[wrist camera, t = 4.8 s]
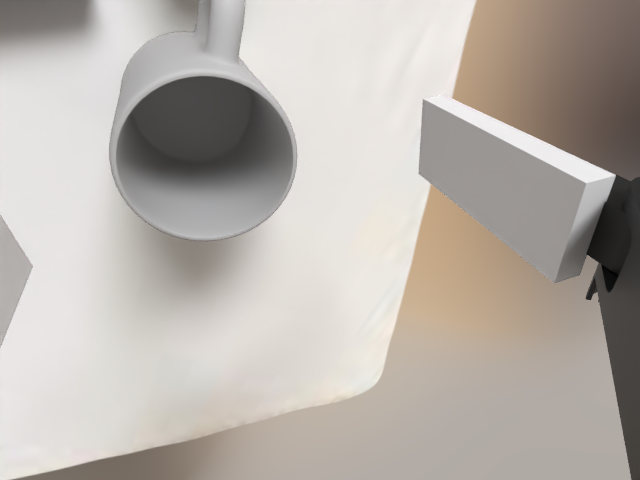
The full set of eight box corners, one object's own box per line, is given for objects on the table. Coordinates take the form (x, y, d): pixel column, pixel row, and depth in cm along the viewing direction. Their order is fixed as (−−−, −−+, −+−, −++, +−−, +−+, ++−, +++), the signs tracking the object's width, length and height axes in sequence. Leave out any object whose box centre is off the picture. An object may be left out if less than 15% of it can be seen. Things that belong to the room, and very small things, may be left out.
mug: (242, 169, 31) (277, 249, 23) (117, 151, 28) (102, 238, 19) (279, -9, 26) (344, 7, 17) (129, -59, 22) (115, -71, 14)
